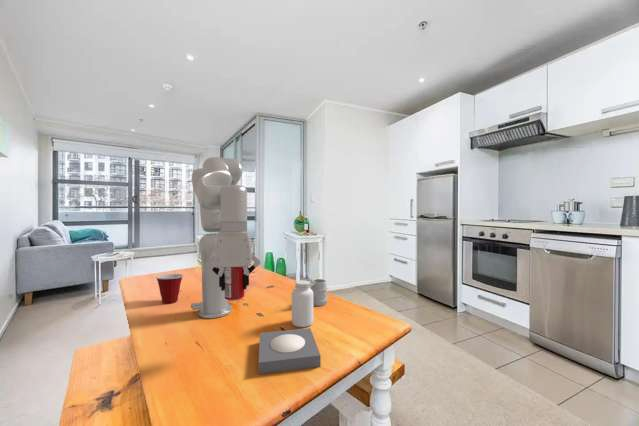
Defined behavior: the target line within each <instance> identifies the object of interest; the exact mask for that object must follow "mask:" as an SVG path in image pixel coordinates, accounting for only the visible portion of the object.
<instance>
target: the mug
mask: <svg viewBox="0 0 639 426" xmlns="http://www.w3.org/2000/svg"><path fill="white" fill-rule="evenodd" d="M306 281H309V282H310V289H311V290H312V291H313V307H323V306H326V305H327V304H328V301H329V299H328V298H329V297H328V296H327V290H328V287H327V280H326V279H322V278H315V279H312V280H311V279H310V278H306Z"/></svg>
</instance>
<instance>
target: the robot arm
mask: <svg viewBox="0 0 639 426" xmlns="http://www.w3.org/2000/svg"><path fill="white" fill-rule="evenodd" d="M242 176H243V166H242V164H241V162H240V160H238V159H236V158H228V157H219V156H218V157H217V156H216V157H215V156H212V157H211V156H210V157H208V158H207V159H205V160H204V161H203V164H202V167H200V168H199V167H198V168H197V169H194V170H193V171H192V173H191V184H192V189H193V191H194V194H195V196H196V198H197V202H198V204H199V213H200V214H199V215H200V224H201V228H202V231H204V232H205V233H209V234H205V235H203V236H201V238H200V239H199V240H198V241H199V242H198V247H199V248H198V249H199V253H200V262H201V289H202V290H201V292H202V293H201V296H202V297H201V298H202V300H201V301H199V302H192V303H191V304H190V309H192V311H195V310H198V312H197V313H198V315H197V316H199V317H200V318H203V319H217V318H220V317H224V316H227V315H229V314H230V313H231V312H232V310H233V307H232V305H230V304H229V301H228V300H226V299H225V288H224V269H225V268H229V267H243V269H244V290H247V287H248V286H250V274H251V273H253V271H255V269H256V268H257V267H259V265H261V260H260V259H259V258H258V257H257V256H256V255H255V254H254V253H253V249H252V247H253V245H252V239H251V233H250V231H248V190H247V188H246V186H244V185H238V183H239V181H240V180H241V179H242ZM252 261H253V262H254V263H252Z"/></svg>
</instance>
